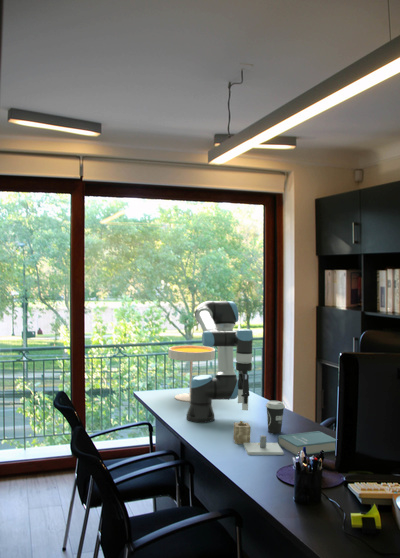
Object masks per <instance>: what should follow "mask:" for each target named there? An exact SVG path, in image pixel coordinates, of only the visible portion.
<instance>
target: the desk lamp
mask: <svg viewBox="0 0 400 558" xmlns="http://www.w3.org/2000/svg"><path fill="white" fill-rule="evenodd" d="M167 353H168V355H167V358H169V359H170V360H176V361H183V362H190V365H189V368H190V369H189V393H188V392H187V393H179V394H176V395H175V396H174V399H175V400H177V401H179V402H185V403H186V402H187V403H190V395H191V387H190V386H191V380H192V378H193V362H207V361H213V360H214V359H215V357H216V349H215V347H209V346H204V345H174V346H170V347H168V352H167Z"/></svg>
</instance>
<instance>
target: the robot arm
mask: <svg viewBox="0 0 400 558" xmlns="http://www.w3.org/2000/svg"><path fill="white" fill-rule="evenodd" d="M239 315H240V314H239V309H238V305H237V304H236V302H235V301H232V300H231V301H229V300H227V301H226V300H206V301H204V302H202V303H200V304H199V305H198V306H197V307H196V308H195V312H194V318H195V320H196V322H197V323H198V324H199V325H200V328H201V330H202V333H201V342H202V346H205V347H211V348H215V347H217V372H216V373H215V375H214V377H213V375H211V374H200V375H196V376H194V377H193V376H192V380H191V386H190V385H189V388H190V387H191V395H190V402H189V407H188V410H187V414H186V420H187V421H189V422H193V423H210V422H213V421H215V413H214V412H215V411H214V409H213V406H212V405H213V404H212V403H213V402H212V401H213V400H216V401H217V400H220V401H221V400H227V401H230V400H235V399H237V403H238V404H241V411H249V397H250V385H249V382H250V381H249V374H248V372H250V371H252V369H253V364H252V363H253V362H252V361H253V358H254V355H253V341H254V334H253V331H252V330H251V329H249V328H238V330H234V331H233V329H234V327H235V326H236V323H238V321H239ZM234 347H235V348H236V350H235V351H236V352H235V361H236V362H235V369H234ZM235 370H236V371H238V377H237V373H236V372H235Z"/></svg>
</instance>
